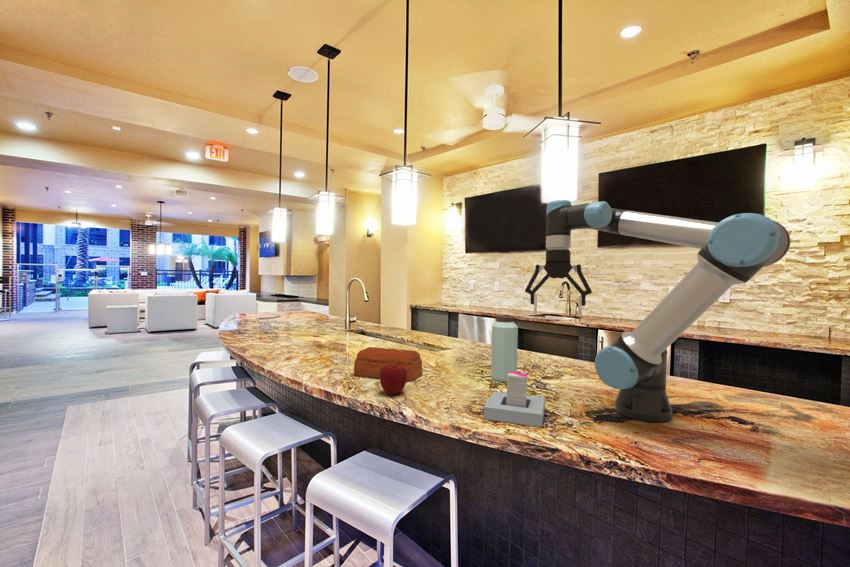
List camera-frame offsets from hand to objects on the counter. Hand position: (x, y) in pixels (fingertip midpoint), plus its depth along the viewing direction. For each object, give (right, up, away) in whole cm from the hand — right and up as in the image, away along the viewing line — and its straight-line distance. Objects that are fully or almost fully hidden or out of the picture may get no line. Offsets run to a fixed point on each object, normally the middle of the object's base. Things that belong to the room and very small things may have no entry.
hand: (557, 315), depth 125 cm
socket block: (-16, -29, -9) cm, 34 cm away
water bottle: (-11, -28, +29) cm, 42 cm away
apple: (-54, -28, +9) cm, 61 cm away
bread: (-58, -28, +33) cm, 72 cm away
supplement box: (-15, -28, -9) cm, 33 cm away
